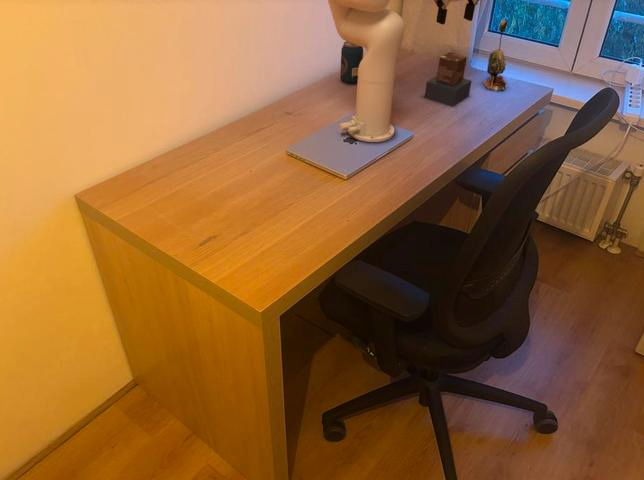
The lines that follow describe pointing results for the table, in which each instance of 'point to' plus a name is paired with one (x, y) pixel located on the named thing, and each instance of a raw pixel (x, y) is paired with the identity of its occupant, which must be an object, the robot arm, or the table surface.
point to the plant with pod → (497, 65)
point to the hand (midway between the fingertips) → (454, 21)
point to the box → (451, 68)
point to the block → (447, 91)
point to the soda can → (350, 63)
